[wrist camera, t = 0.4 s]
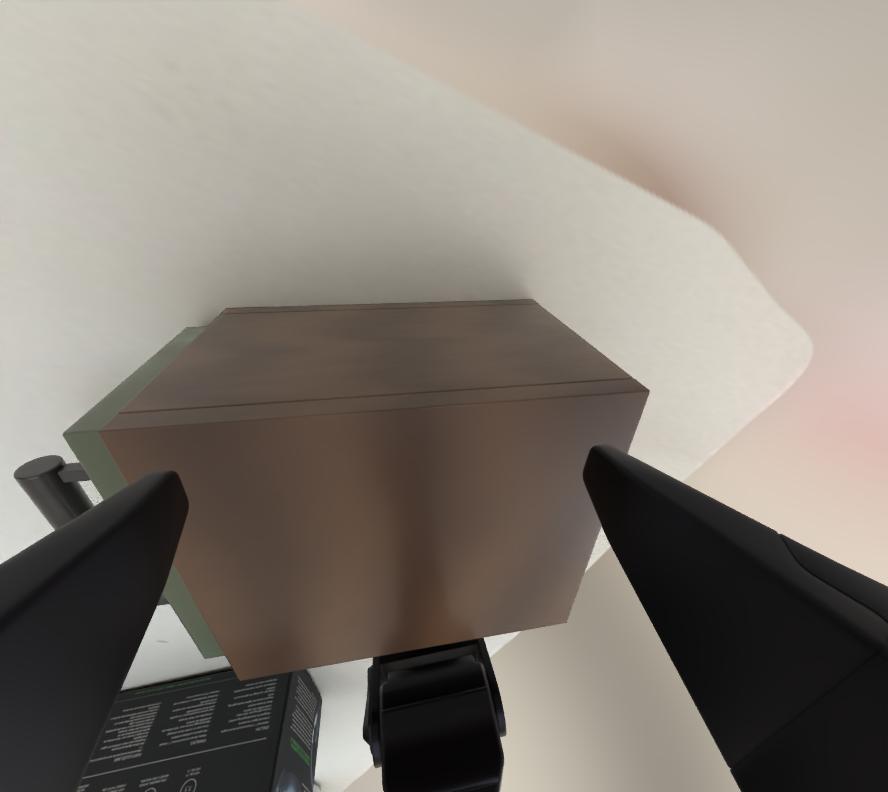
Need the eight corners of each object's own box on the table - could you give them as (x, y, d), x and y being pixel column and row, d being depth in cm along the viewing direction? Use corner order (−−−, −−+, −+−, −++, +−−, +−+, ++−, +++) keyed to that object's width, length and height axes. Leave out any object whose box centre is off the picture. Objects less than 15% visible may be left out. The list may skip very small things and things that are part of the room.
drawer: (160, 525, 24) (67, 682, 17) (52, 331, 17) (-186, 452, 10) (473, 490, 28) (512, 608, 20) (489, 316, 21) (556, 397, 13)
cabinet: (283, 508, 27) (239, 681, 18) (225, 308, 19) (95, 431, 10) (505, 483, 29) (567, 622, 20) (533, 299, 22) (651, 390, 13)
